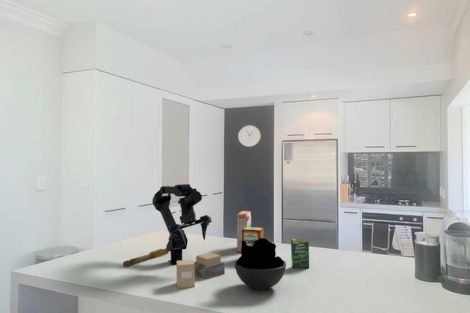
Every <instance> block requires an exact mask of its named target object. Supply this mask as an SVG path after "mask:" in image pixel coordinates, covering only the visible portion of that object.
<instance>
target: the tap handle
mask: <svg viewBox="0 0 470 313" xmlns="http://www.w3.org/2000/svg"><path fill="white" fill-rule="evenodd" d="M169 253H170V251H168V250H167V248H159V249H156V250H152V251H150V252H149V253H148V254H145V255H142V256H137V257H134V258H131V259H126V260H124V261H123V262H122V266H123V267H124V268H127V267H130V266H134V265H136V264H140V263H142V262H144V261H147V260H151V259H156V258H160V257H163V256H165V255H166V254H169Z"/></svg>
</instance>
